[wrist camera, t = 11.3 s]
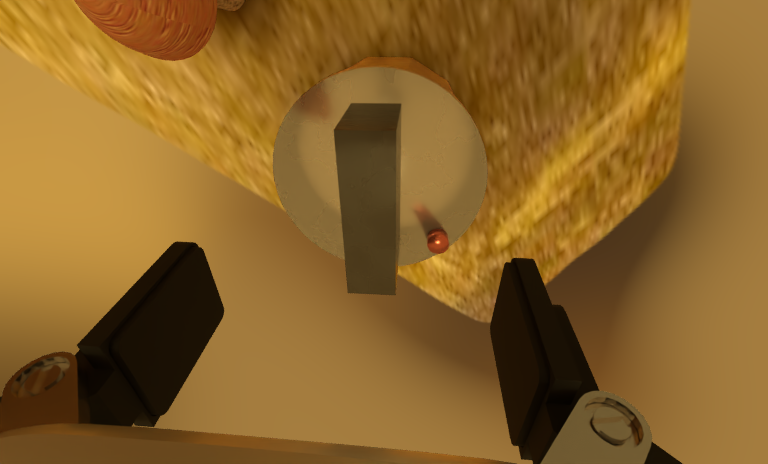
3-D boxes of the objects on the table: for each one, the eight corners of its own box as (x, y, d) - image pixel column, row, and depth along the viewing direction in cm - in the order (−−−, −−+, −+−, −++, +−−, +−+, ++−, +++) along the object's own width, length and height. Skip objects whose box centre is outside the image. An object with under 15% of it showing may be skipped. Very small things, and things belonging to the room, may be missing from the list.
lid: (268, 60, 25) (209, 85, 18) (496, 60, 24) (527, 87, 17) (299, 244, 33) (266, 311, 26) (470, 251, 32) (483, 322, 25)
